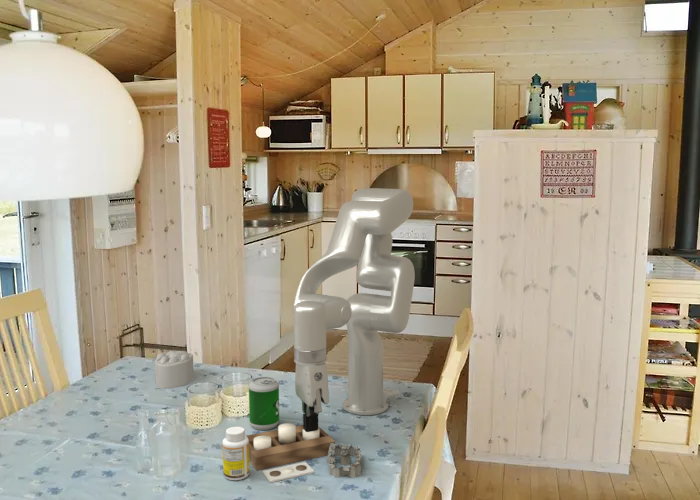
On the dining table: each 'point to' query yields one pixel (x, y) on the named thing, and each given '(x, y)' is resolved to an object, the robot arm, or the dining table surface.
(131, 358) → the dining table surface
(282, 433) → the button middle
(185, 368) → the lumpy-topped squat cylinder
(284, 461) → the wooden compartment box
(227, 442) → the supplement bottle
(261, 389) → the soda can
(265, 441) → the cream rounded cylinder
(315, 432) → the button
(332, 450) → the grey toy castle
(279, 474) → the card
